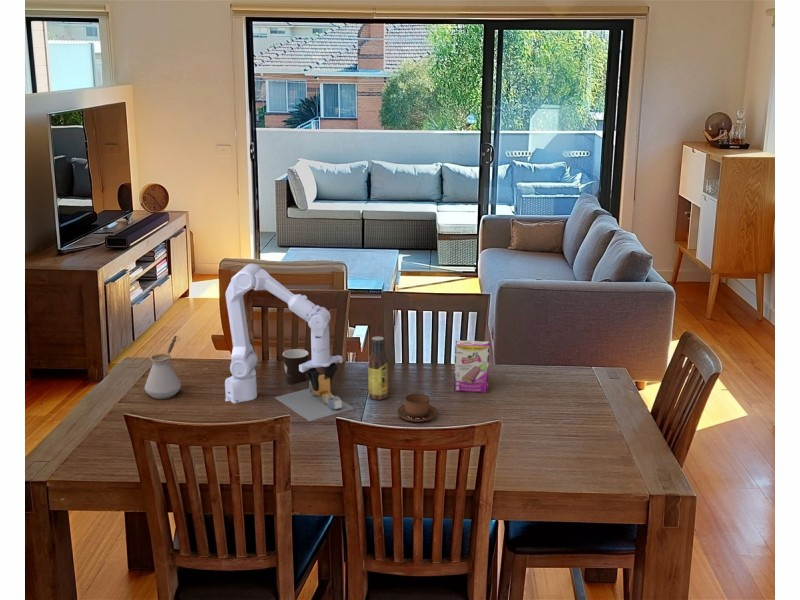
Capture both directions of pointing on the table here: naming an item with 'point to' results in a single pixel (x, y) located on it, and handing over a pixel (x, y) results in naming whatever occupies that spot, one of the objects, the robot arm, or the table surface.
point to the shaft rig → (329, 399)
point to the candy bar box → (471, 366)
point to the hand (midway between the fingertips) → (321, 388)
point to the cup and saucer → (417, 408)
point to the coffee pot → (162, 376)
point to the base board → (309, 404)
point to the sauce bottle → (378, 370)
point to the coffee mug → (295, 365)
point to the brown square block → (323, 385)
